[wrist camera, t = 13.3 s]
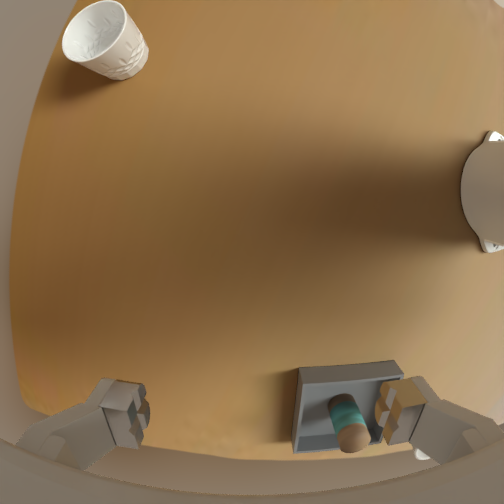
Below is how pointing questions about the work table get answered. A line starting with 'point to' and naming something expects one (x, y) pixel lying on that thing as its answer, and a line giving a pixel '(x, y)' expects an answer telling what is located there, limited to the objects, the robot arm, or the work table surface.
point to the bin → (324, 389)
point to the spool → (348, 423)
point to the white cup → (105, 41)
